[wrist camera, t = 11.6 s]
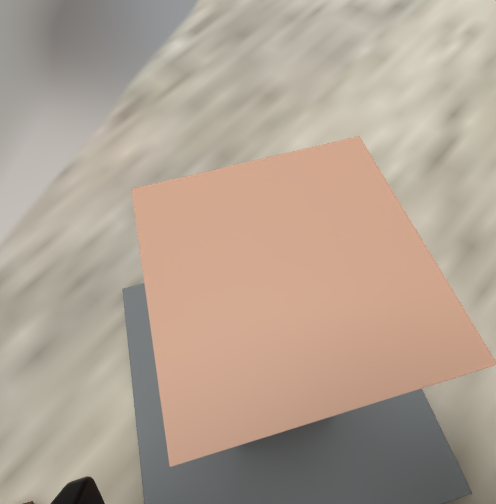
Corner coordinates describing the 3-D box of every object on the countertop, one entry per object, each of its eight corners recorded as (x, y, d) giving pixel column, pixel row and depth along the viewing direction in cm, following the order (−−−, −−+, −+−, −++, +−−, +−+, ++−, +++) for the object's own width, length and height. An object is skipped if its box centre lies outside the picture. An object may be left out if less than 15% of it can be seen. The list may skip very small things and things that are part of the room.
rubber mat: (467, 492, 15) (472, 493, 15) (157, 600, 14) (154, 604, 14) (344, 234, 22) (345, 231, 21) (124, 291, 20) (122, 289, 20)
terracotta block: (334, 413, 17) (497, 364, 5) (235, 444, 16) (170, 467, 5) (300, 317, 19) (359, 136, 7) (212, 342, 18) (131, 188, 7)
